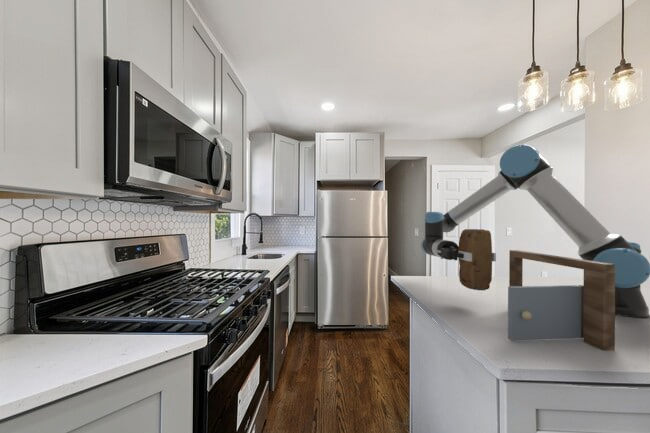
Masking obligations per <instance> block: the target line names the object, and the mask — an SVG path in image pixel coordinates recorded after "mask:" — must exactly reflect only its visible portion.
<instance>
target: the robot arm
mask: <svg viewBox="0 0 650 433" xmlns="http://www.w3.org/2000/svg"><path fill="white" fill-rule="evenodd" d="M499 167H500V171H499V172H498V174H497V176H496V177H495V178H493V179H491V180H490V181H488V182H487V183H486V184H485V185H483V186H482V187H480V188H479V189H478V190H476V191H475V192H473V193H471V195H470V196H468V197H467V198H465V199H464V200H462V201H461V202H460V203H458V204H457V205H455V206H454V207H453V208H451V209H450V210H449V211H447V212H445V213H443V212H442V211H427V212H426V213H425V214H424V215H425V216H424V239H423V240H422V242H421V244H420V246H421V247H420V248H421V250H422V251H423V253H425V254H427V255H429V256H433V257H437V258H440V259H441V260H443V259H444V260H447V261H459V259H462V260H466V261H469V262H472V253H468V252H463V251H458V248H459V244H457V243H456V242H455V241H453V240H447V239H444V233H450V232H452V231H454V230H455V229H456V227H457V226H459V225H460V224H462V223H463V222H465V221H466V220H467V219H469V218H471V217H472V216H474V215H475V214H476V213H478V212H480V211H481V210H483V209H485V208H486V207H487V206H488V205H490V204H492V203H493V202H494V201H496V200H498V199H500V198H501V197H502V196H504V195H505V194H507V193H508V192H510V191H516V190H517V189H519V190H525V191H527V192H528V193H529V194H530V195H531V196H532V197H533V198H534V200H535V201H536V202H537V203H538V204H539V205H540V206H541V207H542V208H543V210H544V211H545V212H546V213H547V214H548V215H549V216H550V217H551V218H552V220H554V222H556V224H557V225H558V226H559V227H560V228H561V229H562V230H563V231H564V233H565V234H566V235H567V236H568V237H569V238H570V239H571V240H572V241H573V242H574V243H575V245H576V246H577V247H578V252H577V255H578V256H579V257H580V259H582V260H589V261H596V262H603V263H610V264H615V316H616V315H617V316H621V317H622V316H623V317H631V318H647V317H649V316H650V310H649V306H648V304H647V302H646V301H645V298H644V295H643V292H642V291H641V285H642V284H644V283H645V282H646V281H648V279H649V277H650V262H649V260H648V258H646V257H645V256H644V255H643V254H642V249H641V245H640V244H639V243H637V242H632V241H627V240H626V239H625V238H624V237H623V236H622V235H621V234H618V233H612V232H610V231H609V230H608V229H607V228H606V227H605V226H603V224H602V223H600V221H599V220H598V219H597V218H596V217H595V216H594V215H593V214H591V212H590V211H589V210H588V209H587V208H586V207H585V206H584V205H583V204H582V203H581V202H580V201H579V200H578V199H577V198H576V197H575V196H574V195H573V194H572V193H571V192H570V191H569V189H567V188H566V186H564V185H563V184H562V183H561V182H560V181H559V180H558V179H557V178H556V177H555V175H554V174H553V169H554V168H553V167H554V166H553V165H551V164H550V163H549V162H548V161H547V160H546V159H545V158H544V157H543V156H542V155H541V154H540V152H539V151H538V149H537V148H535V147H534V146H531V145H528V144H516V145H513V146H511V147H509V148H508V149H506V150H505V151H504V152H503V153H502V155H501V157H500V160H499ZM492 262H497V253H496V252H492Z"/></svg>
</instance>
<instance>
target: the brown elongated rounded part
mask: <svg viewBox="0 0 650 433" xmlns="http://www.w3.org/2000/svg"><path fill="white" fill-rule="evenodd" d="M458 238H459V239H458V246H459V248H458V251H463V252H468V253H472V262H469V261H466V260H462V259H458V262H459V272H458V273H459V274H458V276H459V283H460V284H461V285H462V286H463V287H465V288H466V289H469V290H474V291H487V290H489V289H490V286H491V285H490V284H491V282H492V279H493V278H492V276H493V261H492V253H493V247H492V246H493V242H492V233H491V231H490V230H489V229H487V230H486V229H482V228H481V229H480V228H479V229H477V228H476V229H475V228H470V229H469V228H465V229H464V230H462V231H461V233H460V236H459V237H458Z"/></svg>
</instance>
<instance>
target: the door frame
mask: <svg viewBox="0 0 650 433" xmlns="http://www.w3.org/2000/svg"><path fill="white" fill-rule="evenodd" d="M508 255H509V272H508V274H509V276H508V277H509V278H508V279H509V284H508V285H509V286H523V273H524V272H523V260H528V261H535V262H541V263H546V264H550V265H557V266H563V267H568V268H575V269H579V270H583V285H584V306H583V338H582V339H583V343H585V344H587V345H590V346H592V347H594V348H596V349H599V350H601V351H616V315H615V264H610V263H603V262H596V261H589V260H583V259H582V258H573V257H567V256H562V255H560V256H559V255H553V254H546V253H540V252H539V253H538V252H535V251H534V252H533V251H532V252H531V251H525V250H518V249H512V250H510V249H509V254H508ZM509 286H508V287H509Z"/></svg>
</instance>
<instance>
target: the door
mask: <svg viewBox="0 0 650 433" xmlns="http://www.w3.org/2000/svg"><path fill="white" fill-rule="evenodd" d="M583 306H584V284H582V285H581V284H580V285H579V284H578V285H576V284H575V285H571V284H570V285H525V286H523V285H522V286H507V339H508V340H509V341H511V342H517V341H518V342H520V341H522V342H523V341H541V340H545V341H546V340H547V341H548V340H567V339H568V340H571V339H572V340H573V339H583Z"/></svg>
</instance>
